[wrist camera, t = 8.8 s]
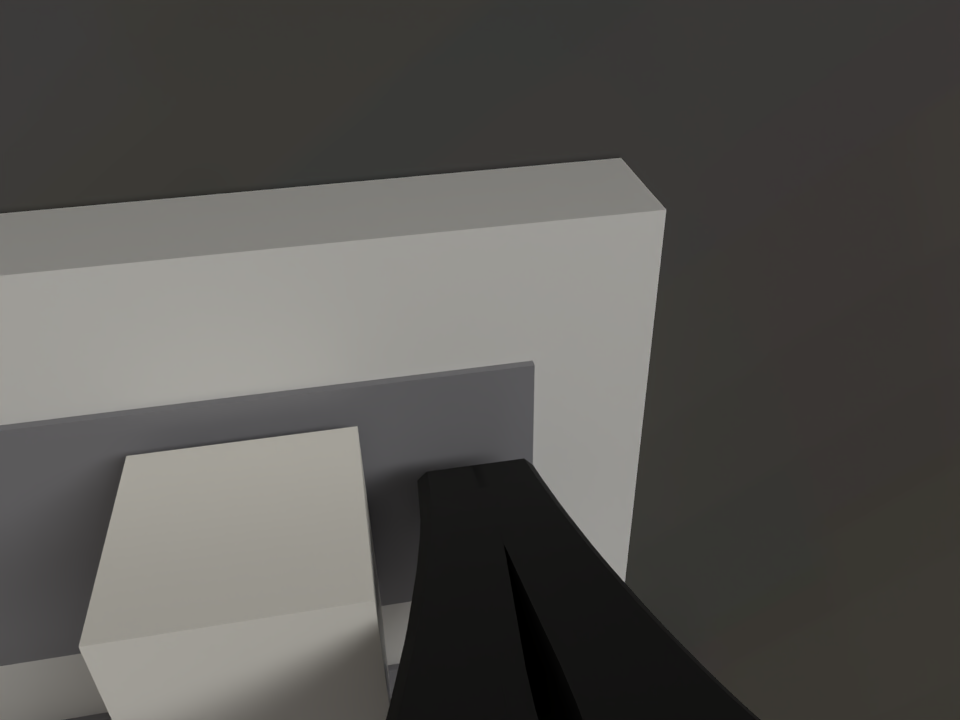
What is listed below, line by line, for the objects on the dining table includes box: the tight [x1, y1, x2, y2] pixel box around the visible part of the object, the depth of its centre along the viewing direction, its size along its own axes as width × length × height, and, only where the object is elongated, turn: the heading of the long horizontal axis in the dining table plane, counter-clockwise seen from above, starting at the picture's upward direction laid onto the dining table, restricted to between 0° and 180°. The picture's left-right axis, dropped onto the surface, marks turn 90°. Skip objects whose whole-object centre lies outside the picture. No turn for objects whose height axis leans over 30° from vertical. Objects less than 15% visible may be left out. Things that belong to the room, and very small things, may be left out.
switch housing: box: [0, 158, 666, 720], centre depth 13 cm, size 17×10×2 cm, turn 1°
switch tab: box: [79, 426, 391, 720], centre depth 9 cm, size 3×2×2 cm
